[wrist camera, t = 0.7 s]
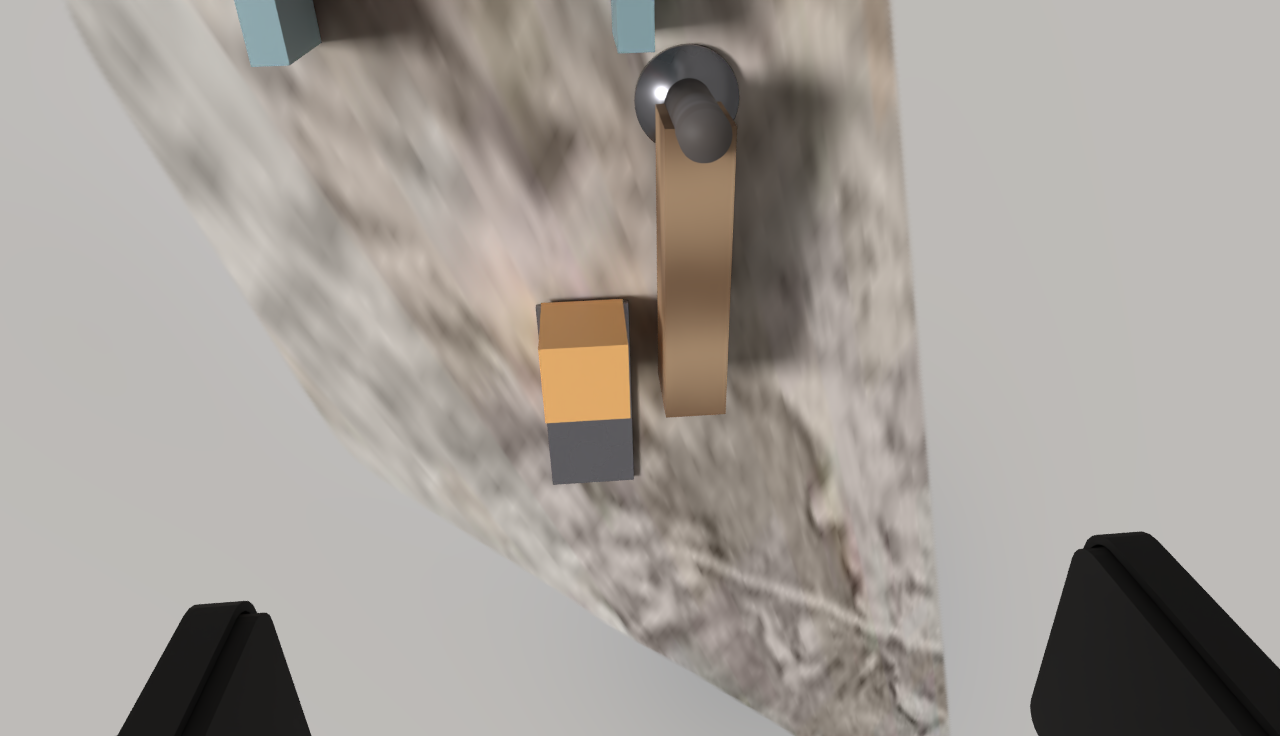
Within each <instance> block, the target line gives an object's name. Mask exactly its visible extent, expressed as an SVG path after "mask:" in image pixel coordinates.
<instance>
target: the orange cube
mask: <svg viewBox="0 0 1280 736" xmlns="http://www.w3.org/2000/svg"><path fill="white" fill-rule="evenodd" d="M538 352H539V362H540V372H541V382H542V392H543V402H544V412H545V422H546V423H559V422H576V421H592V420H609V419H625V418H631V415H630V385H629V354H628V339H627V331H626V323H625V316H624V308H623V300H622V299H610V300H591V301H572V302H553V303H541V313H540V330H539V346H538Z"/></svg>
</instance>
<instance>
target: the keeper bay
mask: <svg viewBox="0 0 1280 736" xmlns="http://www.w3.org/2000/svg"><path fill="white" fill-rule="evenodd" d="M234 2H235V5H236V9H237V13H238V17H239V21H240V25H241V29H242V33H243V37H244V41H245V44H246V48H247V52H248V56H249V60H250V64H251V67H257V66H285V65H291V64H292V63H294V62H295V61H296V60H298V59H299V58H301V57H302V56H303V55H305V54H306V53H308V52H309V51H310V50H312V49H313V48H315V47H316V46H317V45H319V44H320V43H322V42H321V37H320V32H319V28H318V23H317V18H316V13H315V9H314V4H313V0H234ZM611 6H612V32H613V36H614V40H615V43H616V47H617V51H618V53H639V52H655V20H654V0H611Z"/></svg>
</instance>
